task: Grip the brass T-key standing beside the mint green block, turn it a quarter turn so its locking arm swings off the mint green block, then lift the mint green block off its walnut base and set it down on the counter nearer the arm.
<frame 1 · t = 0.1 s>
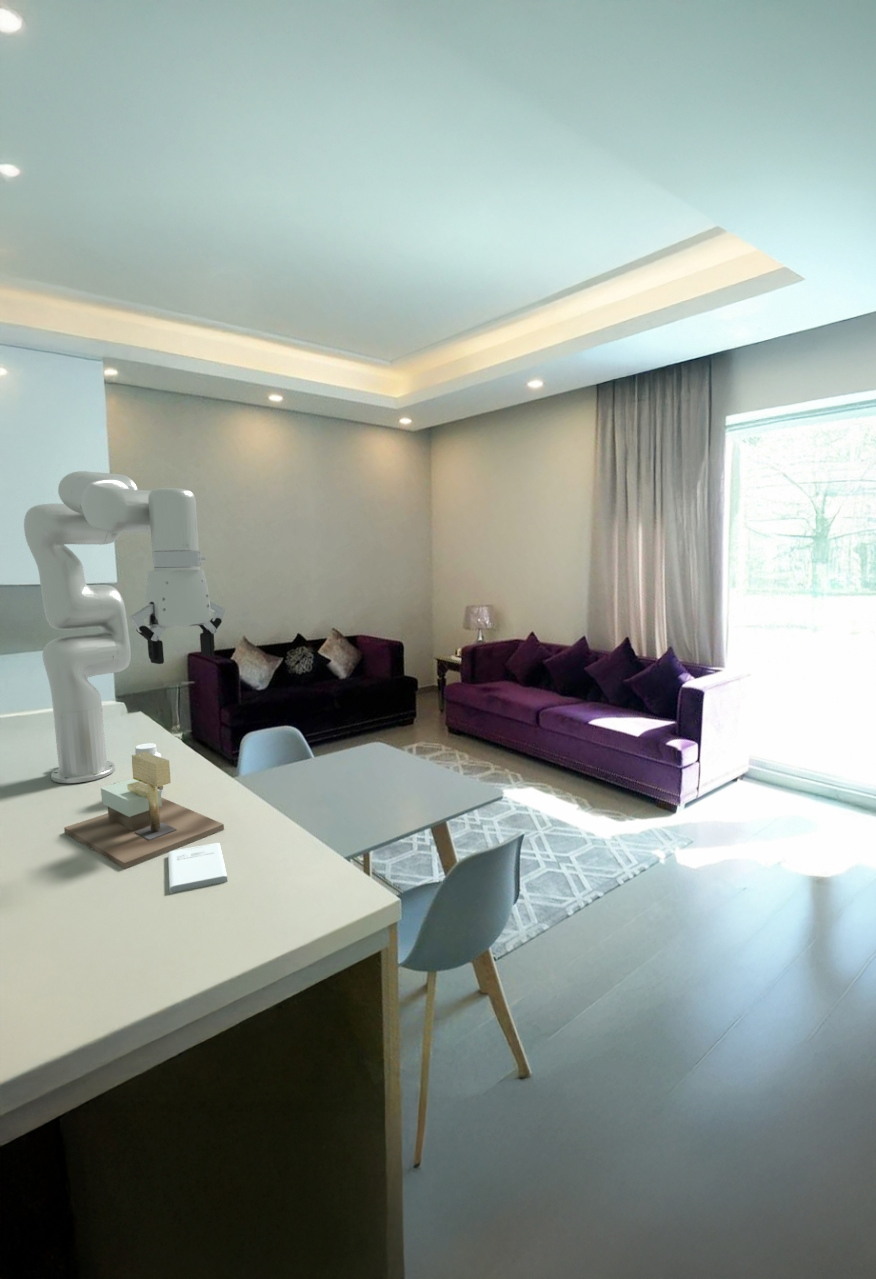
hand: (183, 659, 113), 31 cm above the countertop, tool pointing down, fingers open, 9 cm apart
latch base: (144, 831, 116), on the countertop
external hard drive: (197, 873, 102), on the countertop
mint green block: (131, 804, 118), point 4 cm above the countertop, touching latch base
supplement bottle: (149, 794, 134), on the countertop
key: (148, 791, 113), point 8 cm above the countertop, hinge at 0.0°
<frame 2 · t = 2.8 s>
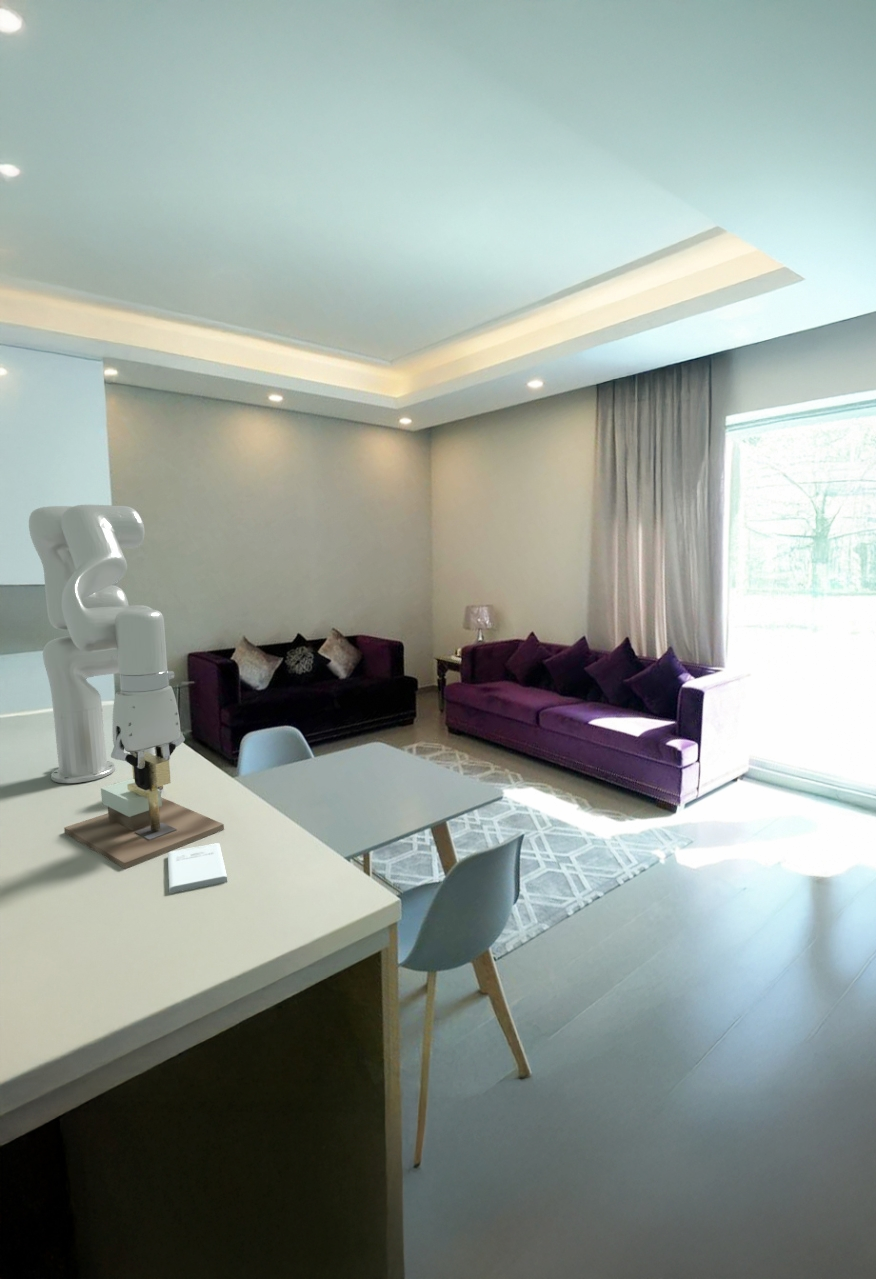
hand: (152, 784, 112), 10 cm above the countertop, tool pointing down, fingers closed on key, 2 cm apart
key: (148, 791, 113), point 8 cm above the countertop, hinge at 0.0°, touching gripper
everything else where it was.
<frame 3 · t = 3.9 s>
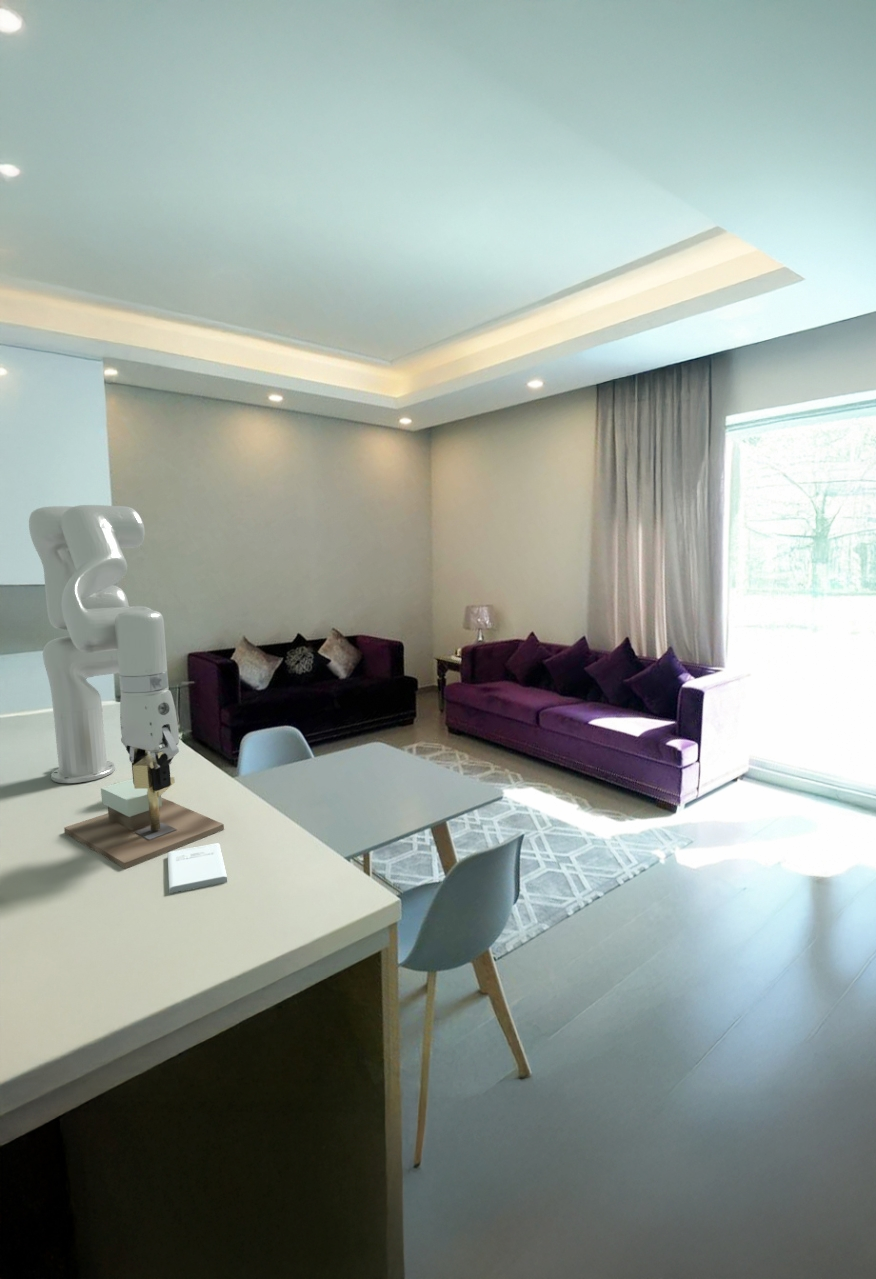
hand: (152, 784, 112), 10 cm above the countertop, tool pointing down, fingers closed on key, 4 cm apart
key: (156, 790, 114), point 8 cm above the countertop, hinge at -51.9°, touching gripper
everything else where it was.
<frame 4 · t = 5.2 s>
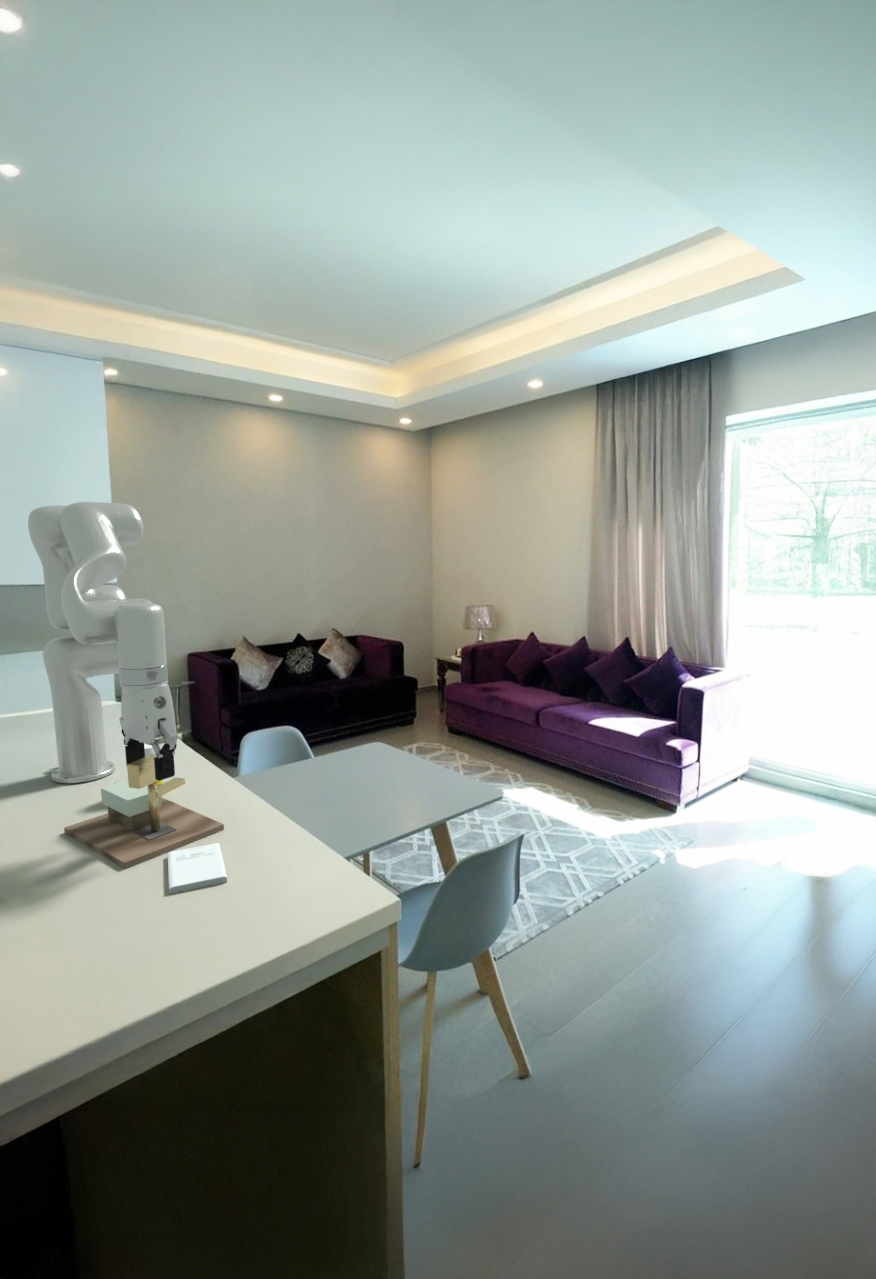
hand: (150, 771, 112), 12 cm above the countertop, tool pointing down, fingers open, 9 cm apart
key: (159, 790, 114), point 8 cm above the countertop, hinge at -70.4°
everything else where it was.
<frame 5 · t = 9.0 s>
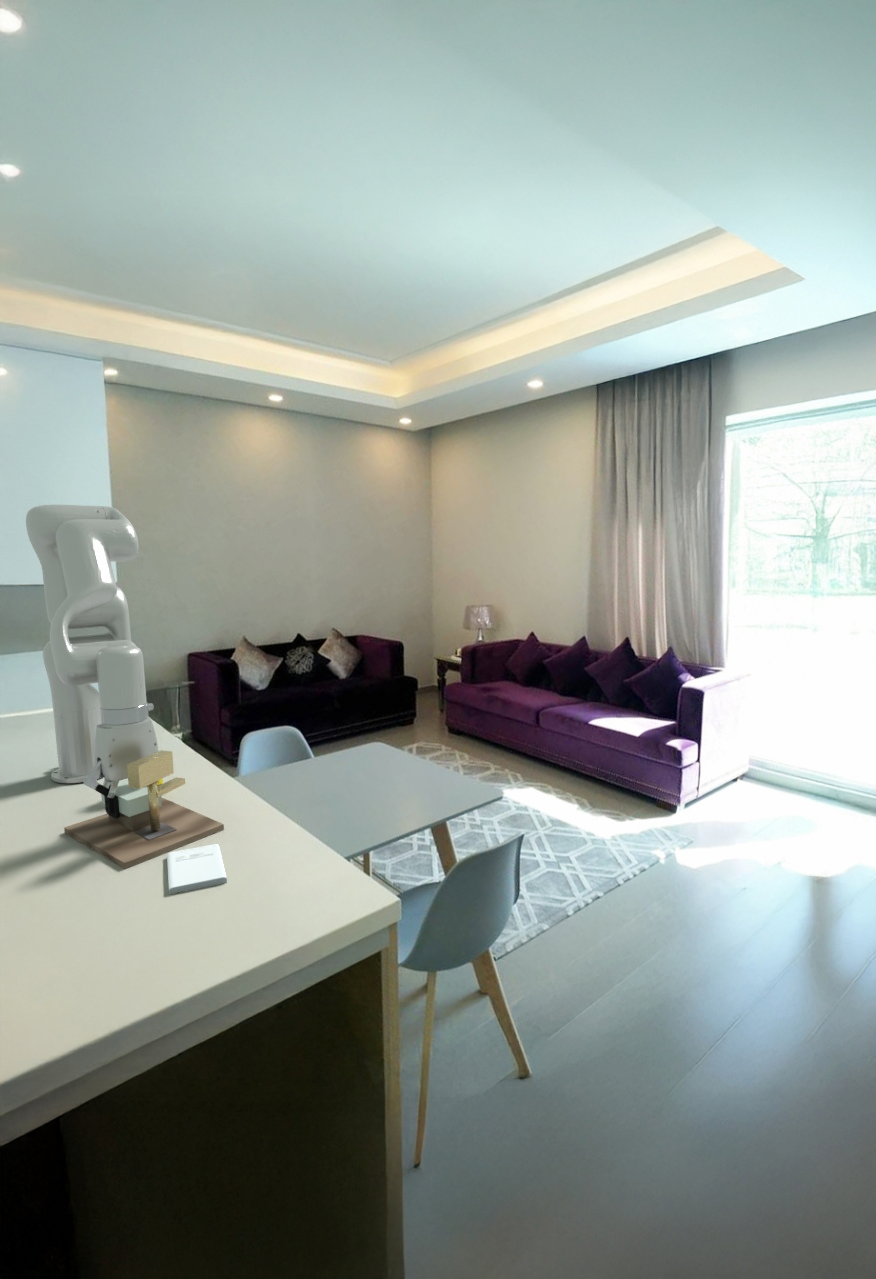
hand: (132, 809, 118), 3 cm above the countertop, tool pointing down, fingers closed on mint green block, 6 cm apart
mint green block: (131, 804, 118), point 4 cm above the countertop, touching gripper, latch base
key: (159, 790, 114), point 8 cm above the countertop, hinge at -70.8°
everything else where it was.
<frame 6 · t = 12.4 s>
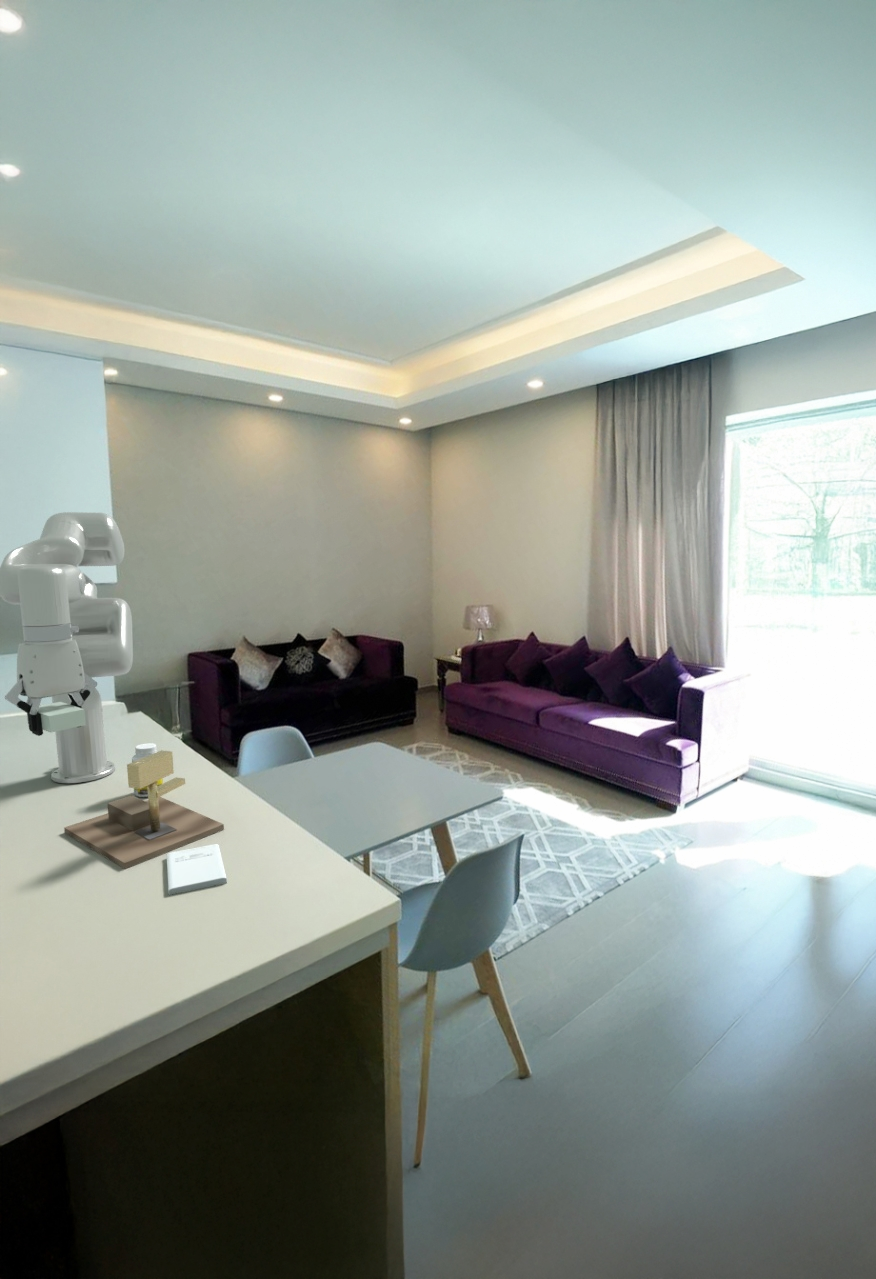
hand: (57, 729, 119), 17 cm above the countertop, tool pointing down, fingers closed on mint green block, 6 cm apart
mint green block: (56, 724, 119), point 18 cm above the countertop, touching gripper
everything else where it was.
when the fingers open (1 cm above the countertop, at t = 15.9 s): mint green block drops 2 cm, on the countertop.
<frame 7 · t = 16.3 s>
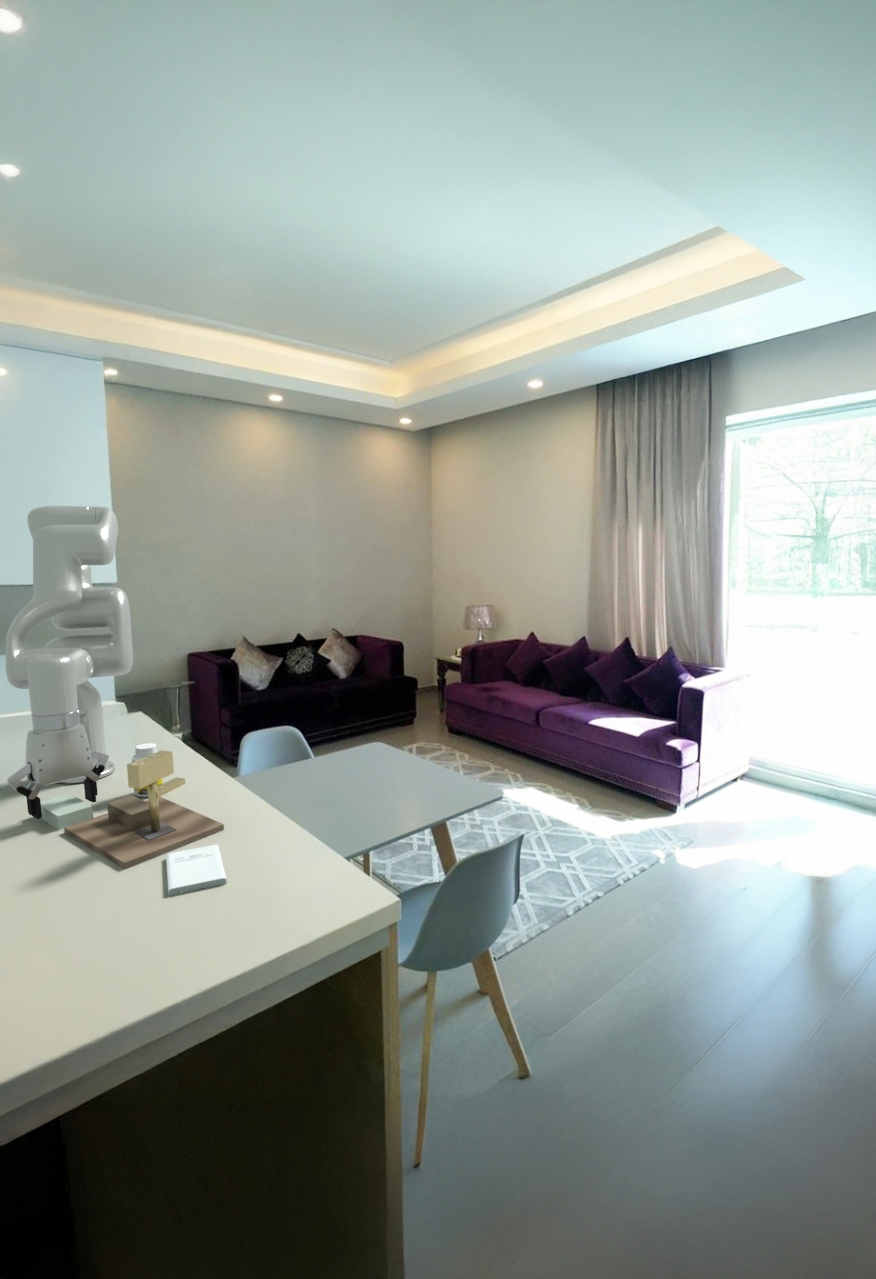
hand: (64, 808, 122), 2 cm above the countertop, tool pointing down, fingers open, 9 cm apart
mint green block: (65, 819, 122), on the countertop
everything else where it was.
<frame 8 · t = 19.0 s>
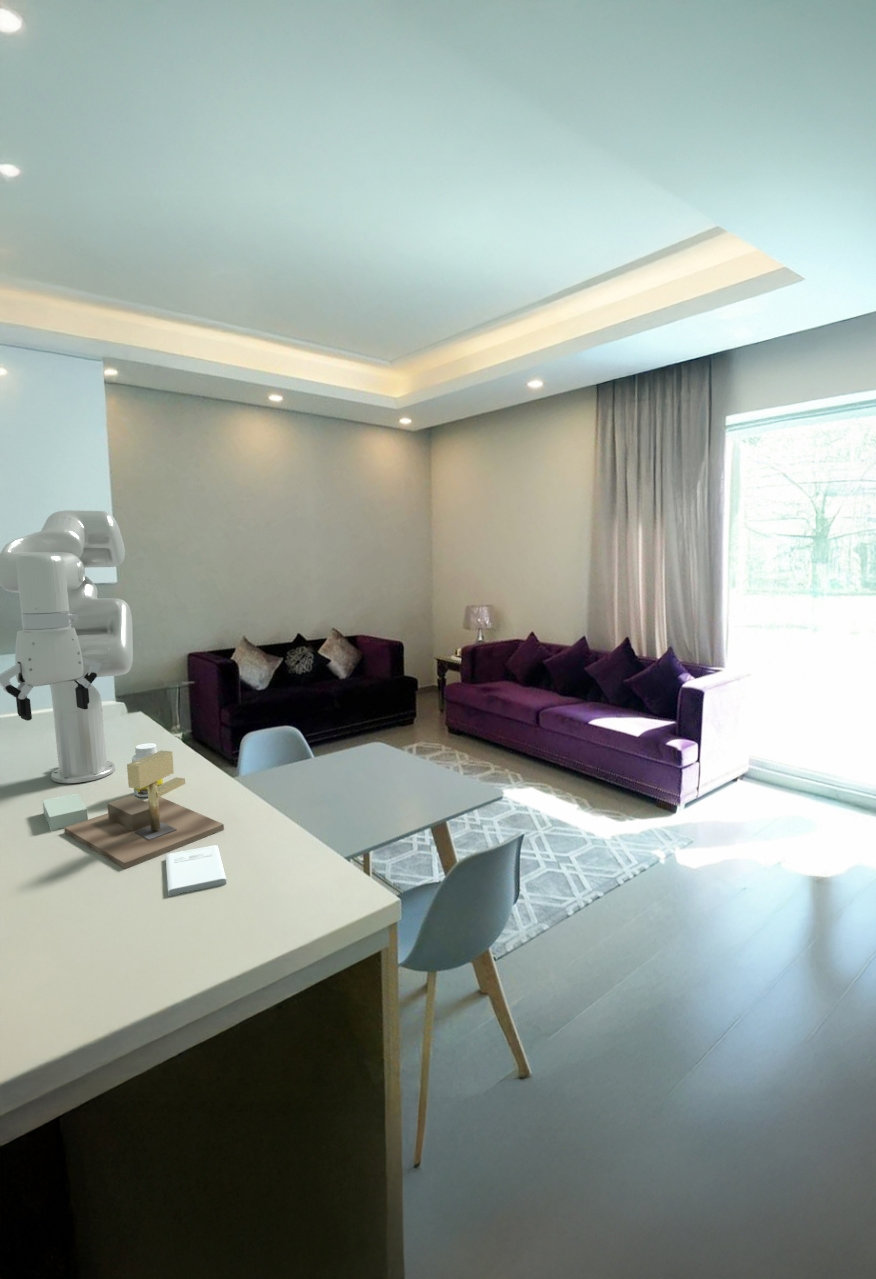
hand: (55, 713, 119), 20 cm above the countertop, tool pointing down, fingers open, 9 cm apart
at the end: key at -71° (first picture: +0°); mint green block inside the target area (0.0 cm from its centre), on the countertop; mint green block tilted 0° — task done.
